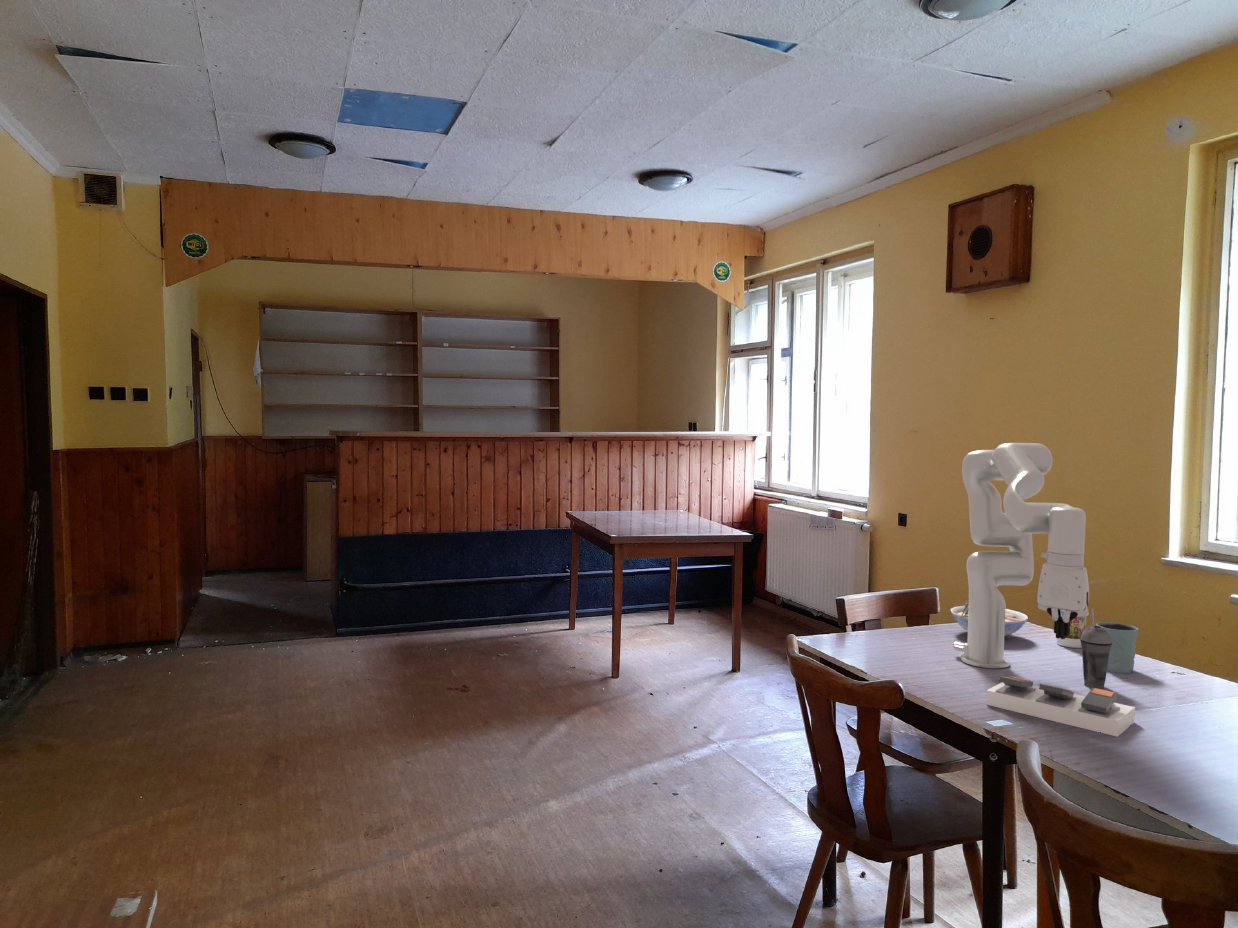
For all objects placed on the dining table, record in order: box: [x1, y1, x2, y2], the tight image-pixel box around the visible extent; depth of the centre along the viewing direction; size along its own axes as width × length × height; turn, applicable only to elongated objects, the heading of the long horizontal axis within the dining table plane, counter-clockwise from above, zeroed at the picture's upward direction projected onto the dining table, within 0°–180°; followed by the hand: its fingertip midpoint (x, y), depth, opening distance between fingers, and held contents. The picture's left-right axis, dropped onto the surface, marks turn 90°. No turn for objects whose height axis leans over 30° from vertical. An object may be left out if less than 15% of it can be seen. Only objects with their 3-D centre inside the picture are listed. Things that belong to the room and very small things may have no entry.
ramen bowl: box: [950, 600, 1029, 637], centre depth 269 cm, size 25×23×8 cm
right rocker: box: [1081, 688, 1118, 713], centre depth 188 cm, size 5×8×2 cm, turn 135°
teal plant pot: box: [1095, 621, 1139, 674], centre depth 234 cm, size 10×10×12 cm
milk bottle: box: [1056, 610, 1087, 649], centre depth 259 cm, size 8×8×20 cm
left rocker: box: [998, 676, 1034, 690], centre depth 201 cm, size 5×8×2 cm, turn 135°
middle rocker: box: [1038, 683, 1075, 699], centre depth 195 cm, size 5×8×2 cm, turn 135°
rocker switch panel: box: [985, 682, 1136, 738], centre depth 196 cm, size 28×13×4 cm, turn 45°
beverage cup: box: [1080, 608, 1112, 689], centre depth 218 cm, size 7×7×20 cm
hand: (1061, 637), depth 198 cm, fingers closed
